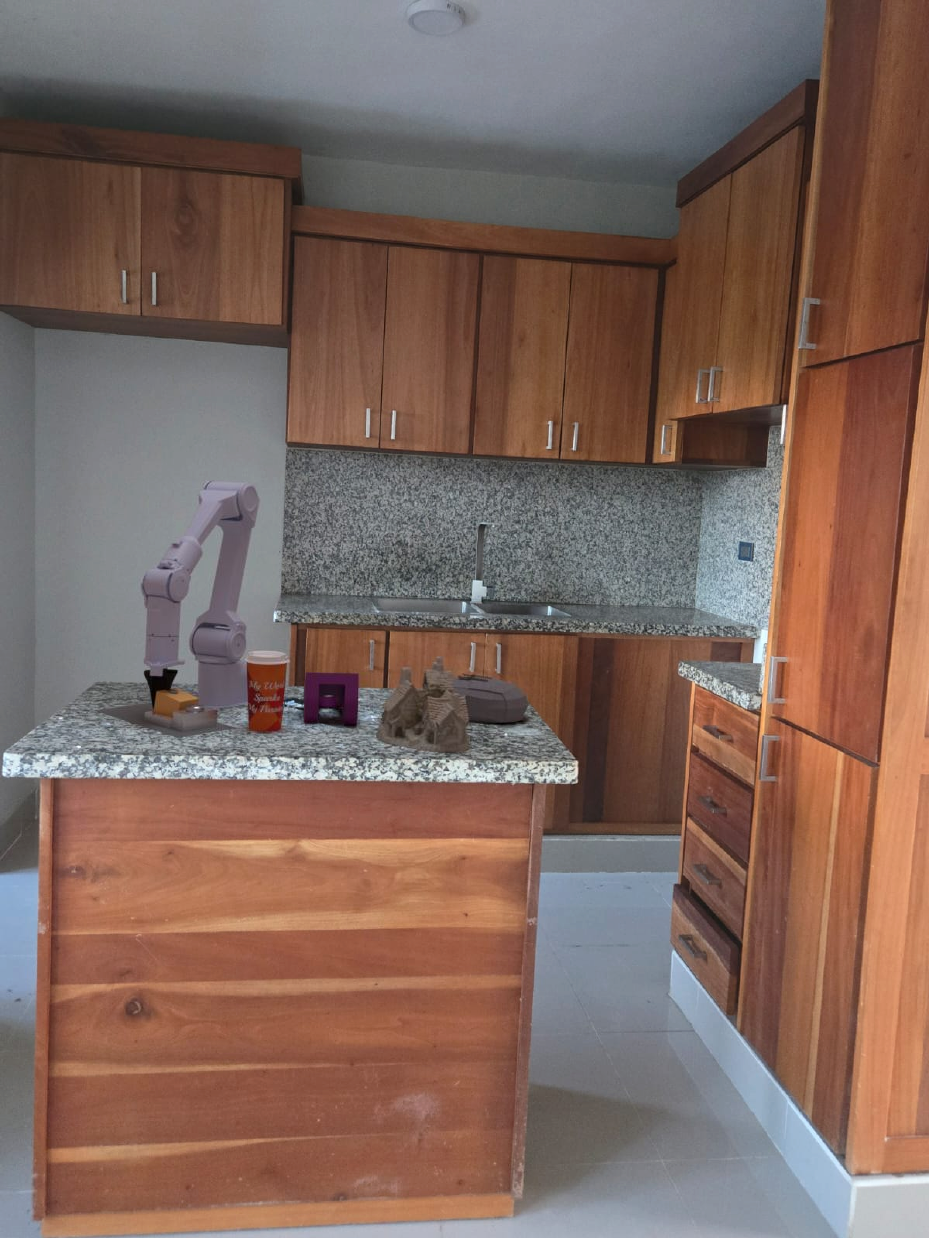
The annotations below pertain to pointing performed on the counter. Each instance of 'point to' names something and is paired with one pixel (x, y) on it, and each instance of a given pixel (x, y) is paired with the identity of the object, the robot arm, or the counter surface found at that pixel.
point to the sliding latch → (186, 718)
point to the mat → (138, 717)
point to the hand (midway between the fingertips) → (159, 709)
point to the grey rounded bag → (490, 699)
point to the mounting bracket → (331, 695)
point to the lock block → (172, 701)
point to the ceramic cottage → (426, 713)
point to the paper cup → (266, 689)
